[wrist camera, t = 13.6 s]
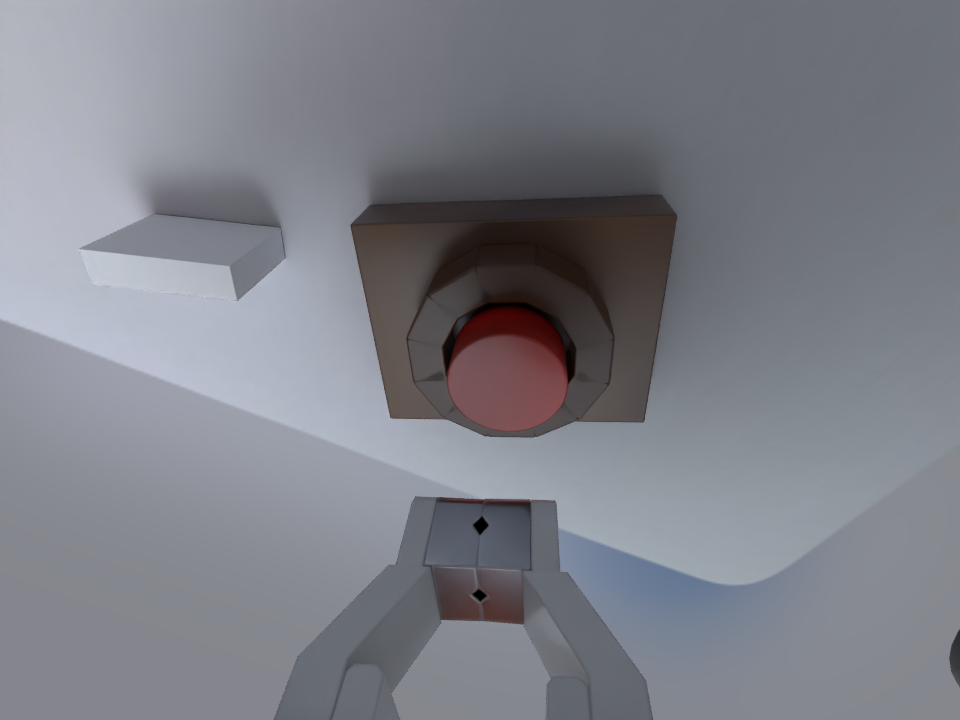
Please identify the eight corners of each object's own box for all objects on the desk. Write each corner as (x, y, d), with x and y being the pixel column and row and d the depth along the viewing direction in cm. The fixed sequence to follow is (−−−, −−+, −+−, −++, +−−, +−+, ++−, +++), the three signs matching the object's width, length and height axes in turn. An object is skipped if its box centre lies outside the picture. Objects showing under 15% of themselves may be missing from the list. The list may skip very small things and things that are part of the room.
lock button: (567, 304, 15) (570, 334, 13) (563, 399, 17) (565, 433, 15) (449, 305, 15) (440, 334, 14) (459, 397, 17) (452, 431, 16)
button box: (662, 194, 16) (694, 235, 13) (634, 388, 21) (653, 456, 17) (369, 204, 17) (329, 244, 14) (402, 386, 22) (378, 450, 18)
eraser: (153, 212, 18) (76, 249, 15) (280, 226, 18) (229, 266, 15) (162, 244, 19) (92, 285, 16) (285, 258, 19) (237, 302, 16)
